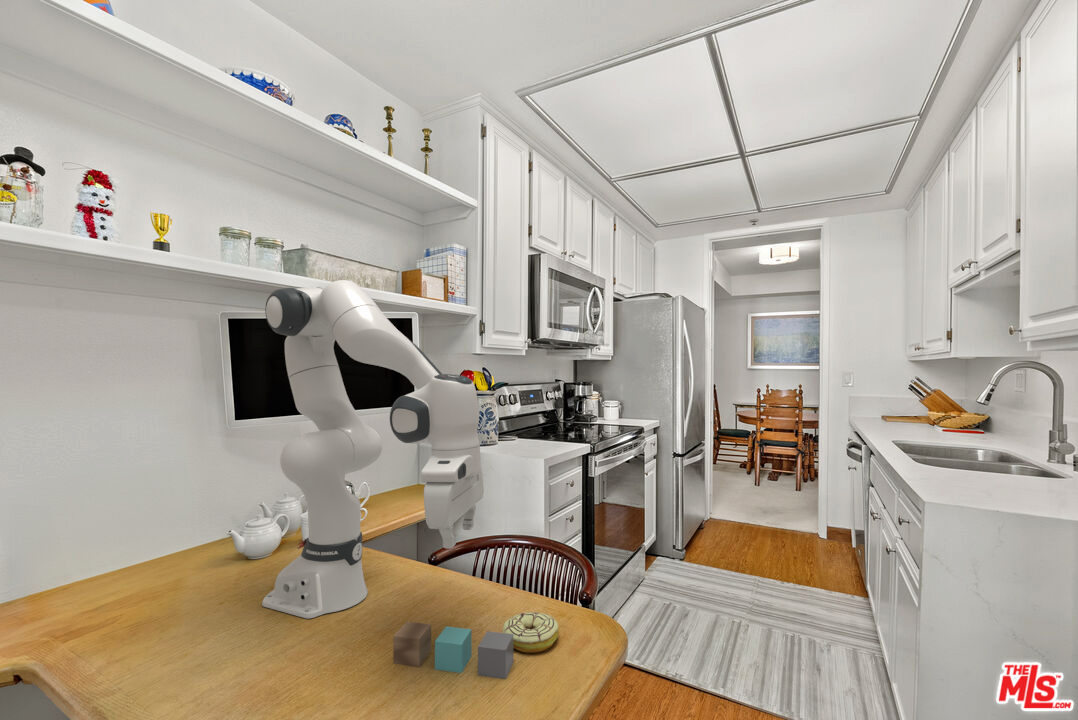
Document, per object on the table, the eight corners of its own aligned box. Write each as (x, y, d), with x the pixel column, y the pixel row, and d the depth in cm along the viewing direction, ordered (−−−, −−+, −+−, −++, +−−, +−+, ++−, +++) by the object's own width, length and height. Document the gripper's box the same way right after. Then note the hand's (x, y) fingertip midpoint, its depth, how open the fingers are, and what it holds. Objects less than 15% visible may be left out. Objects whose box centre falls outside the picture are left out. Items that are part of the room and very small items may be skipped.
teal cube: (434, 669, 85) (434, 641, 85) (446, 653, 90) (446, 626, 90) (461, 673, 84) (461, 644, 84) (471, 656, 89) (471, 629, 89)
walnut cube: (393, 664, 87) (393, 636, 87) (406, 648, 92) (406, 621, 92) (419, 667, 86) (419, 639, 86) (431, 651, 90) (431, 624, 91)
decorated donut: (518, 621, 101) (518, 603, 101) (566, 633, 97) (566, 614, 97) (493, 647, 92) (493, 627, 92) (544, 662, 87) (544, 641, 87)
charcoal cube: (478, 675, 83) (477, 646, 83) (487, 658, 88) (487, 631, 88) (505, 679, 82) (505, 650, 82) (513, 662, 87) (513, 634, 87)
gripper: (460, 452, 100) (463, 519, 99) (416, 474, 80) (419, 558, 79) (489, 451, 98) (492, 519, 98) (452, 474, 78) (455, 560, 78)
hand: (459, 537), depth 89 cm, fingers open, 8 cm apart
